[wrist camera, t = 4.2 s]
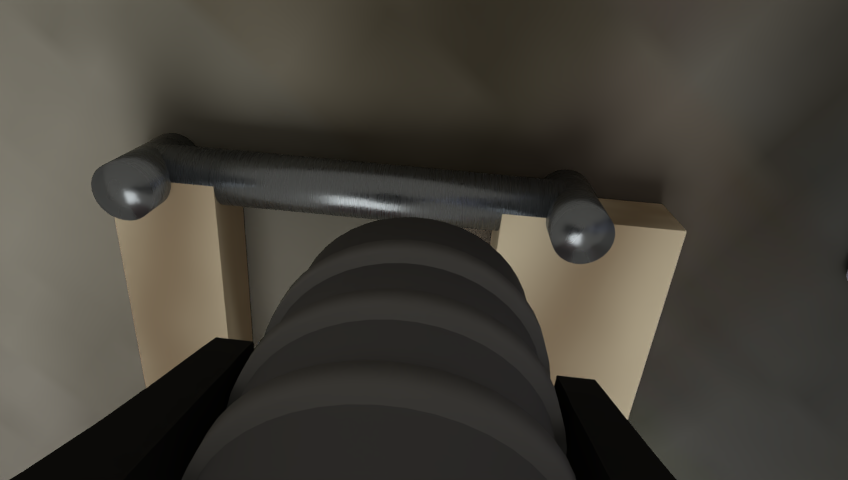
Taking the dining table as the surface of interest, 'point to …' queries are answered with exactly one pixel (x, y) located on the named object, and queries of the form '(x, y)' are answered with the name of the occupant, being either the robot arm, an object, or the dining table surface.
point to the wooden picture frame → (515, 240)
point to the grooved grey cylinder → (395, 370)
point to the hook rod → (357, 191)
